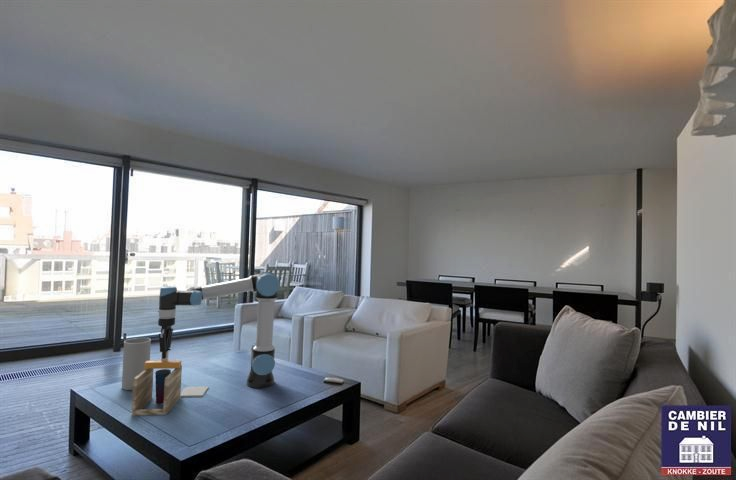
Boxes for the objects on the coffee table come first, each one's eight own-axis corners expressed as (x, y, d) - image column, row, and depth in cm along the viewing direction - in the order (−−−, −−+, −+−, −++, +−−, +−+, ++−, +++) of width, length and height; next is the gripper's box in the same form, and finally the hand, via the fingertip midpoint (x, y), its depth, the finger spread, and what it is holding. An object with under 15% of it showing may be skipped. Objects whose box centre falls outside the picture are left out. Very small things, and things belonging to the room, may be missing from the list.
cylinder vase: (116, 388, 203) (118, 341, 203) (138, 380, 215) (140, 336, 215) (132, 392, 198) (134, 344, 199) (153, 384, 210) (156, 339, 210)
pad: (208, 388, 208) (208, 386, 208) (202, 396, 197) (202, 395, 197) (185, 388, 207) (185, 386, 207) (177, 397, 195) (178, 395, 195)
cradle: (180, 397, 194) (181, 365, 194) (166, 414, 175) (168, 378, 176) (148, 398, 192) (150, 365, 192) (131, 415, 173) (133, 378, 173)
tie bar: (181, 366, 191) (181, 360, 191) (179, 368, 188) (179, 362, 188) (146, 366, 189) (147, 360, 189) (144, 368, 186) (144, 362, 186)
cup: (172, 400, 191) (173, 370, 191) (161, 405, 185) (162, 374, 185) (162, 397, 193) (163, 368, 194) (150, 402, 187) (152, 372, 187)
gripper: (164, 314, 197) (161, 360, 197) (153, 319, 184) (151, 368, 184) (179, 315, 198) (177, 360, 198) (170, 320, 185) (167, 368, 185)
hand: (164, 364), depth 191 cm, fingers closed
